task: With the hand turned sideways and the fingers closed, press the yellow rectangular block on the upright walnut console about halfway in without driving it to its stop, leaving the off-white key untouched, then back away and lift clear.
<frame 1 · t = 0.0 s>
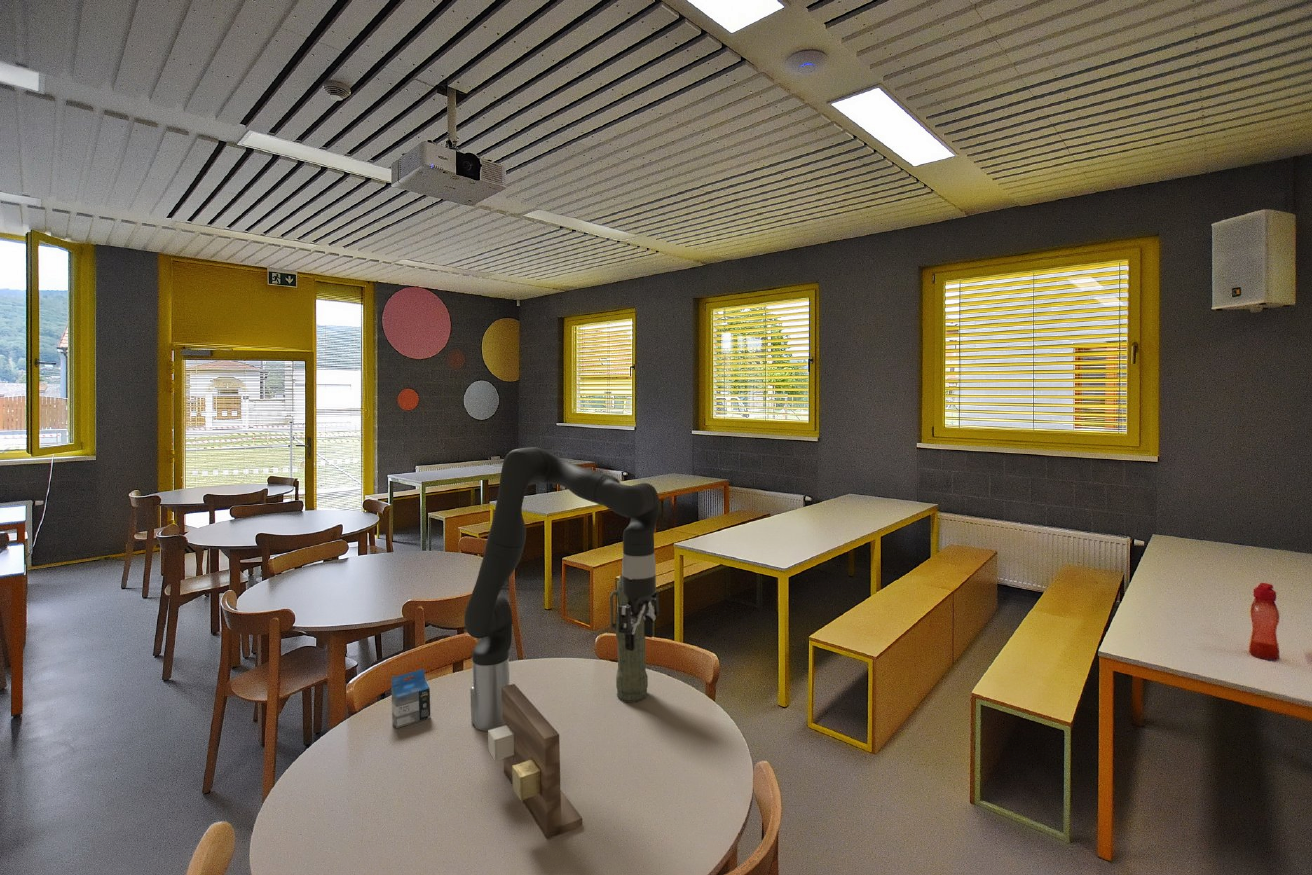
hand: (639, 642, 144), 29 cm above the table, tool pointing down, fingers open, 8 cm apart
yellow rectangular block: (534, 776, 126), point 10 cm above the table, slide at 0.0 cm
label tape cartridge: (411, 721, 168), on the table
thermos: (632, 695, 181), on the table
key white: (508, 740, 139), point 10 cm above the table, slide at 0.0 cm
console: (530, 800, 134), on the table
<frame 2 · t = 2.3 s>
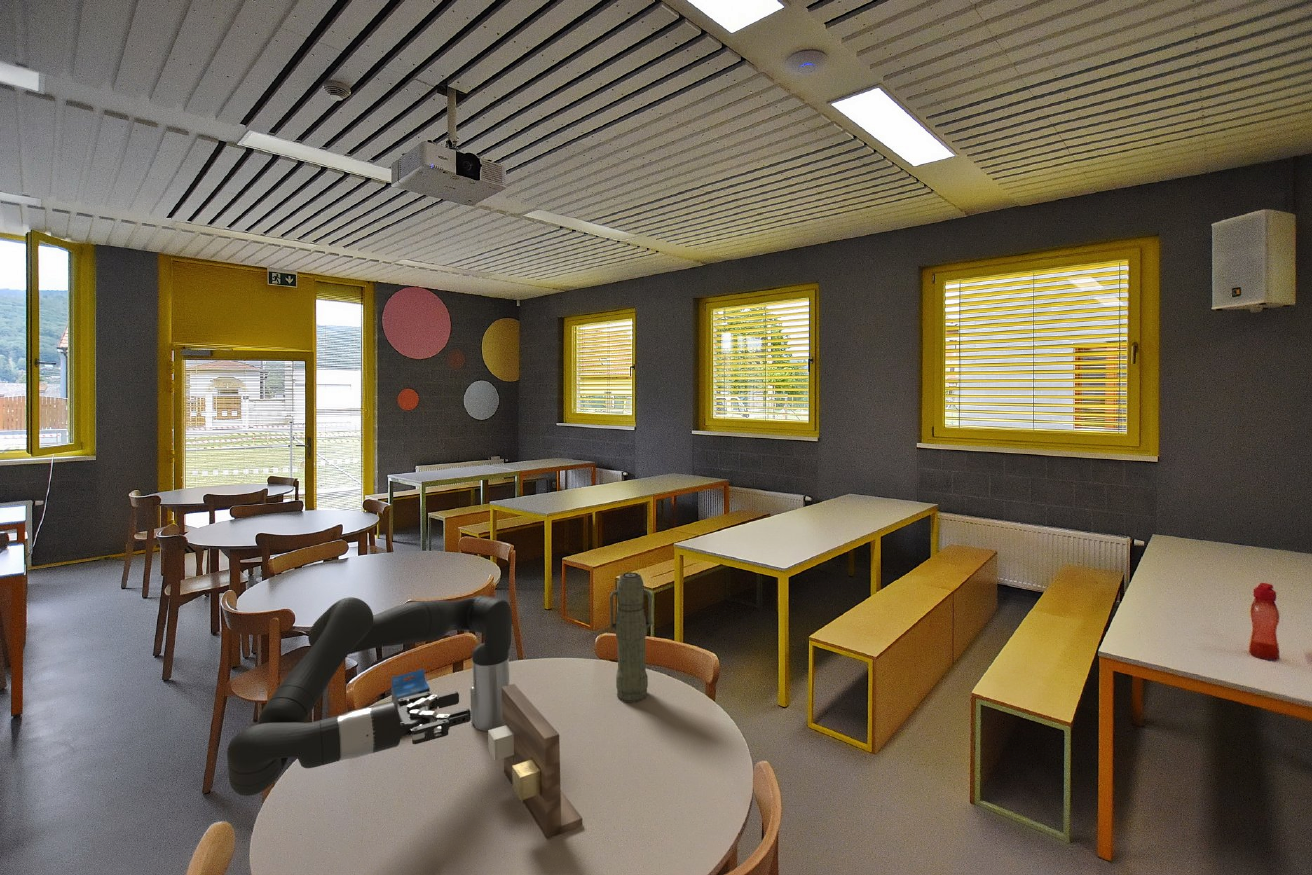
hand: (464, 705, 118), 28 cm above the table, tool horizontal, fingers open, 7 cm apart
nothing on the table moved.
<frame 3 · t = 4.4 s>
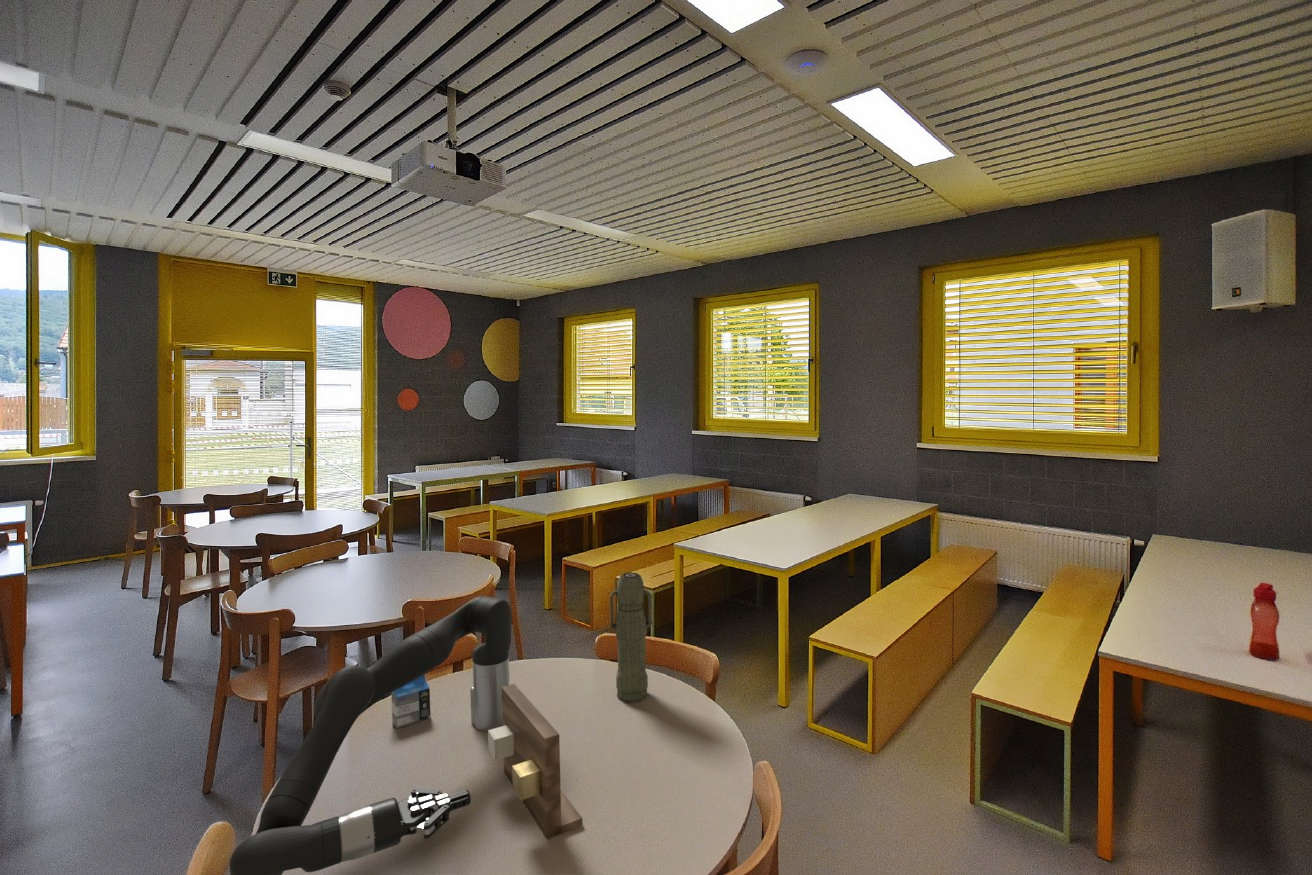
hand: (469, 796, 119), 11 cm above the table, tool horizontal, fingers closed
nothing on the table moved.
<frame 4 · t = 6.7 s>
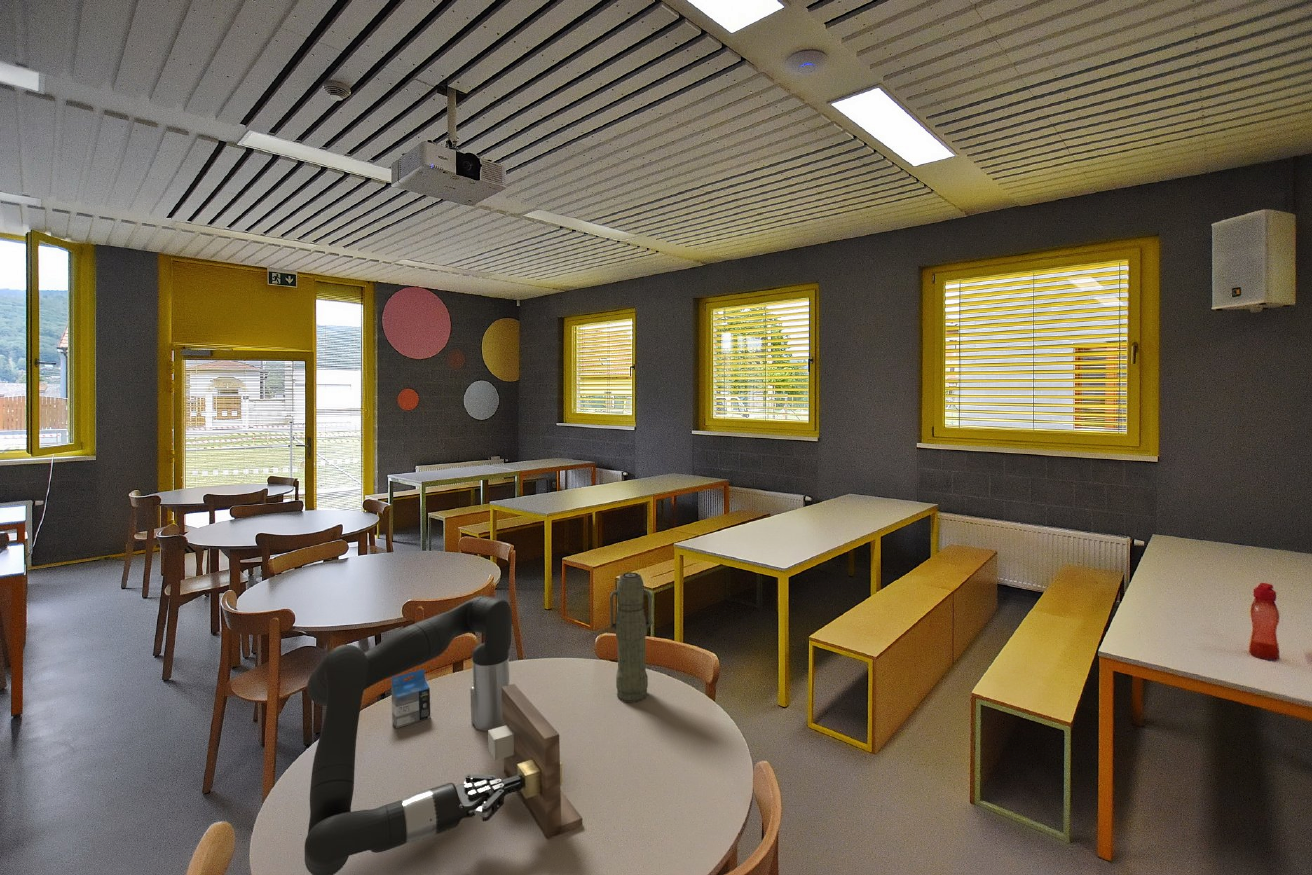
hand: (521, 781, 124), 10 cm above the table, tool horizontal, fingers closed
yellow rectangular block: (539, 774, 126), point 10 cm above the table, slide at 1.0 cm, touching gripper
everything else where it was.
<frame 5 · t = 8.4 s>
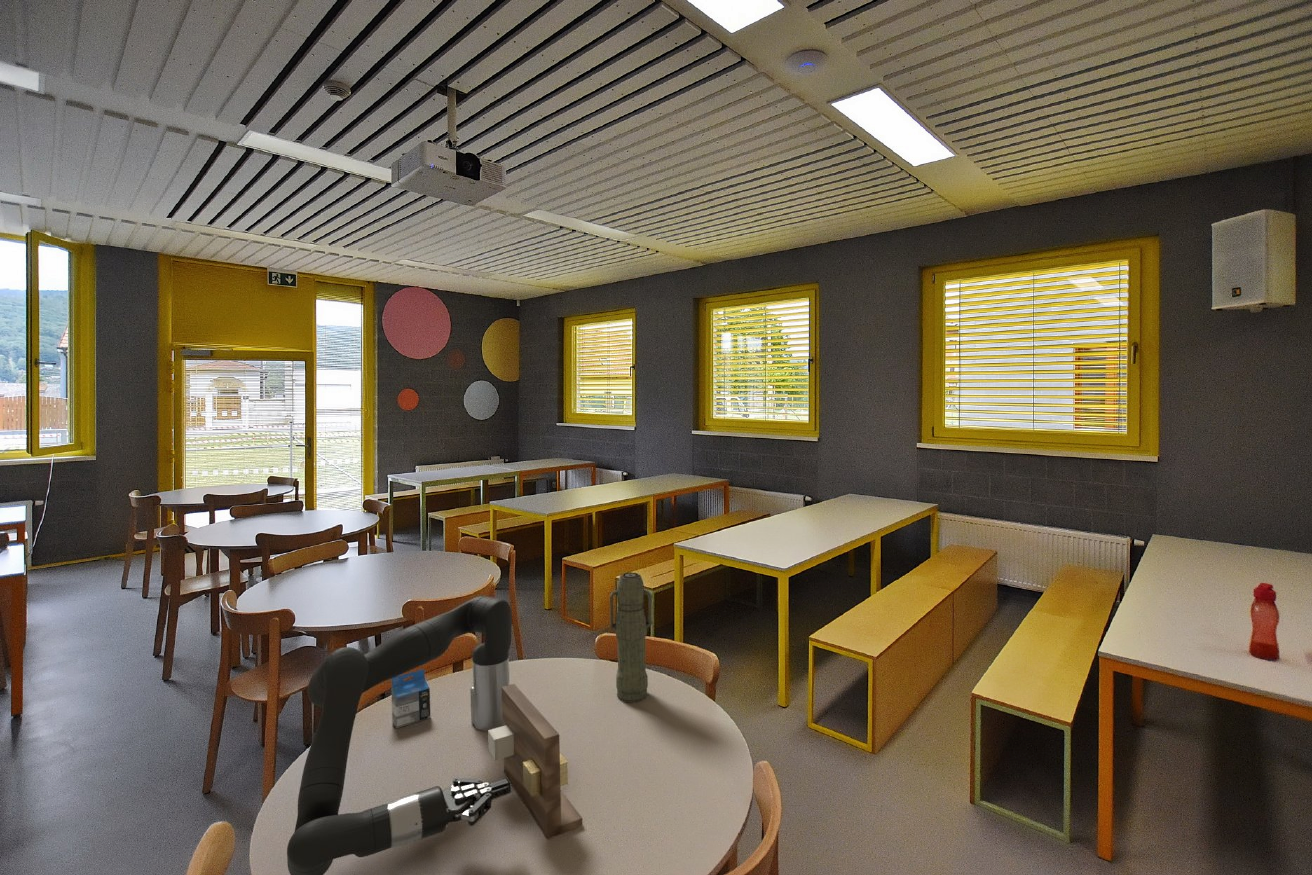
hand: (509, 785, 123), 10 cm above the table, tool horizontal, fingers closed
yellow rectangular block: (545, 773, 127), point 10 cm above the table, slide at 2.2 cm
everything else where it was.
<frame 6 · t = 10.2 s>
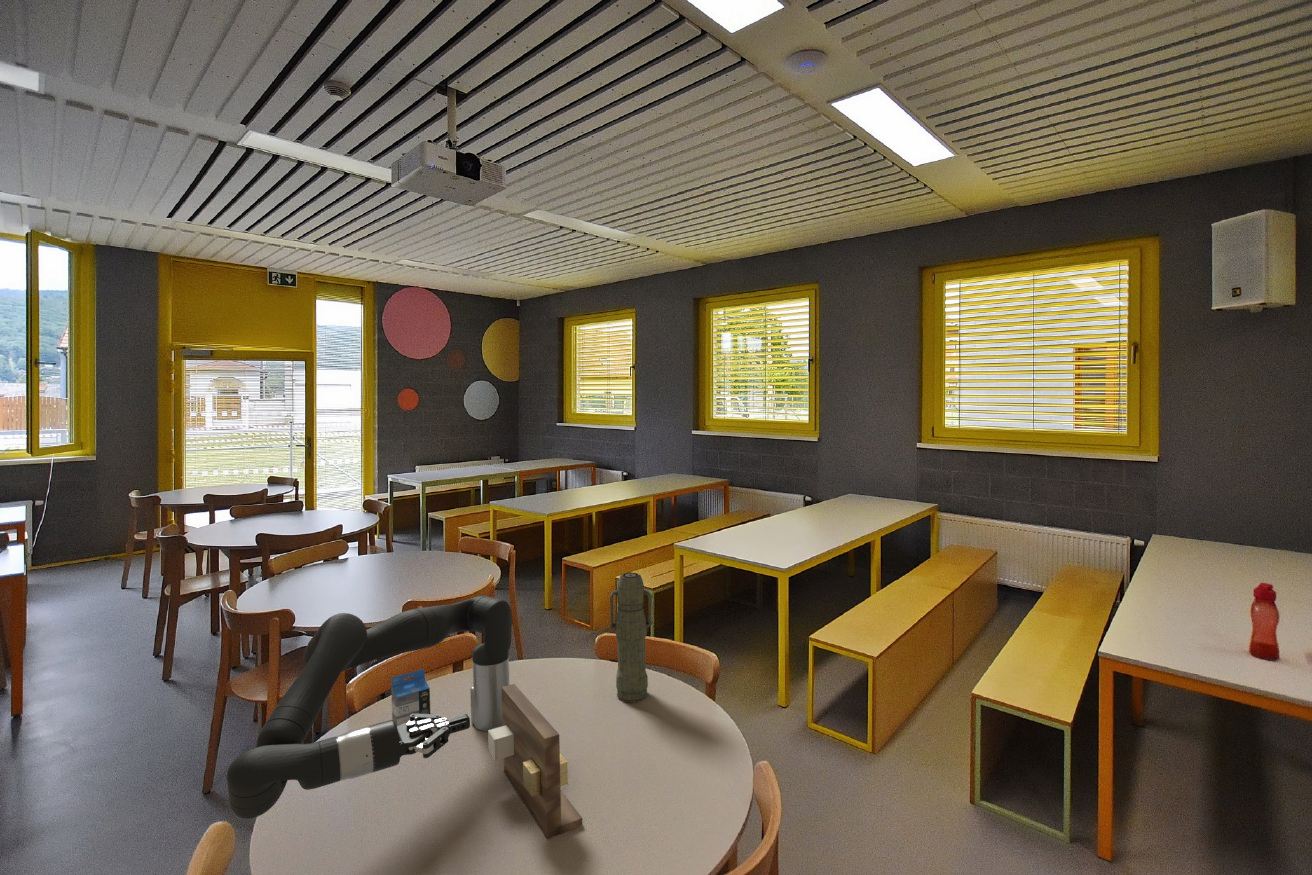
hand: (468, 720, 118), 25 cm above the table, tool horizontal, fingers closed
nothing on the table moved.
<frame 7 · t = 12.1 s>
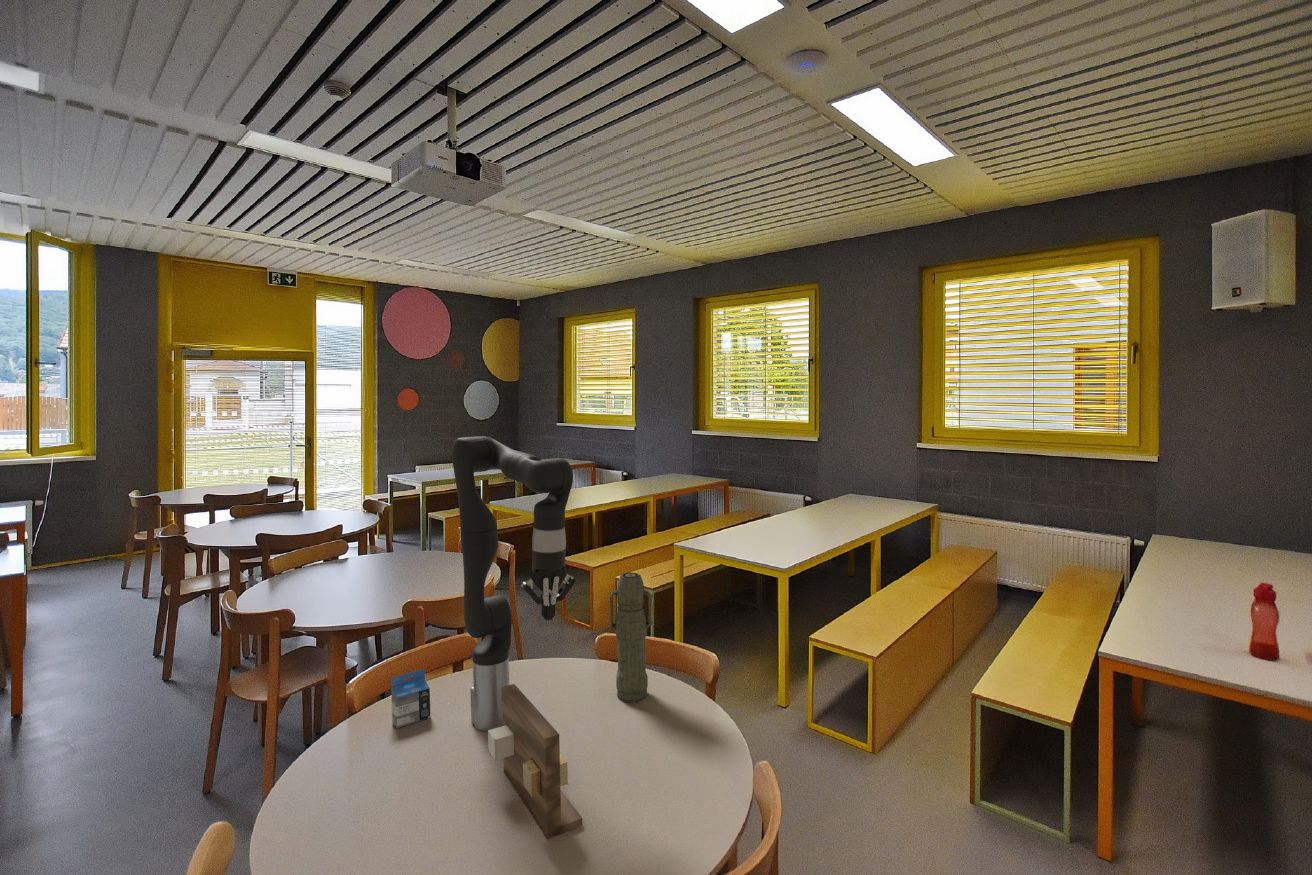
hand: (548, 619, 147), 34 cm above the table, tool pointing down, fingers closed
nothing on the table moved.
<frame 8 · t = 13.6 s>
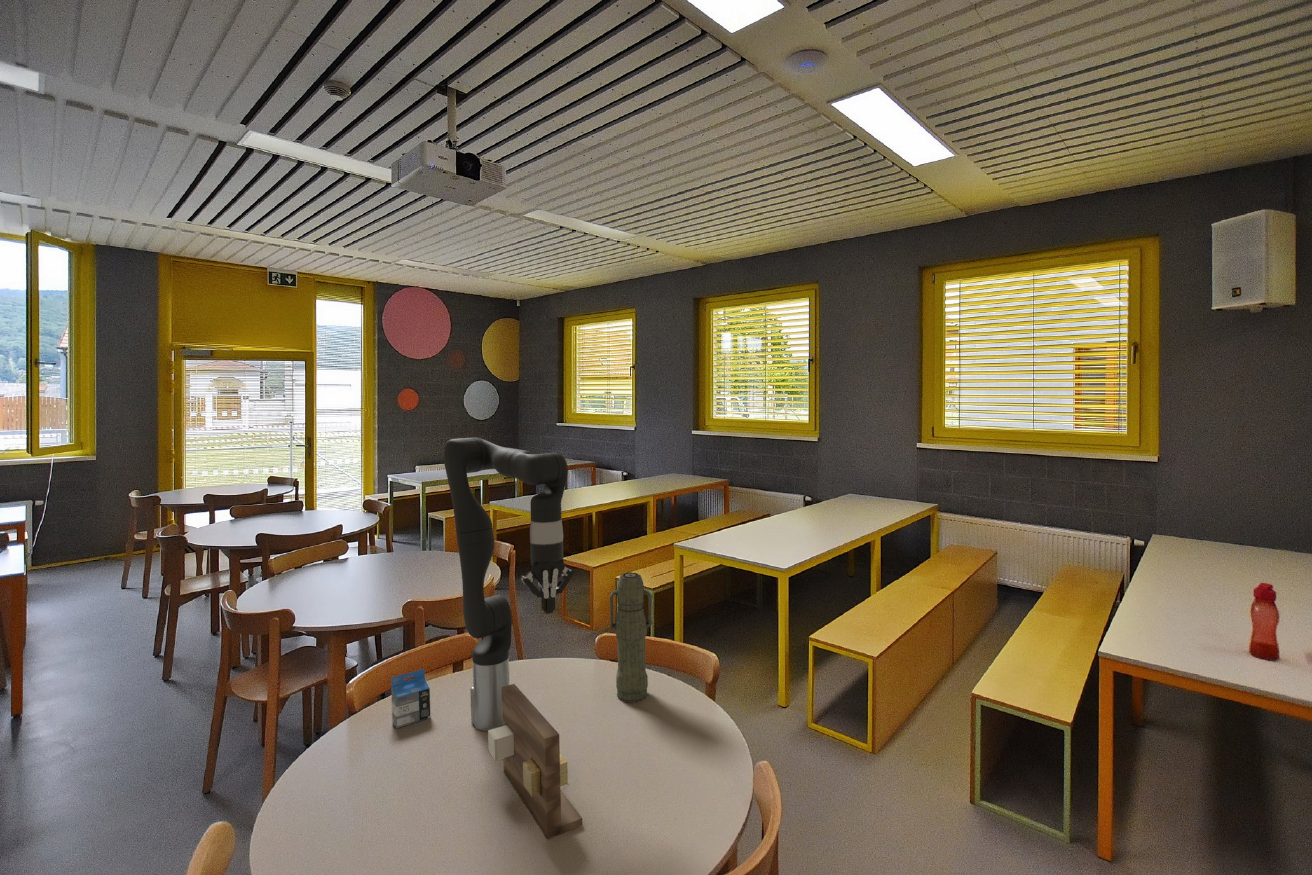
hand: (548, 612, 148), 35 cm above the table, tool pointing down, fingers closed
nothing on the table moved.
at the end: yellow rectangular block slide at 2.2 cm; key white slide at 0.0 cm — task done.
